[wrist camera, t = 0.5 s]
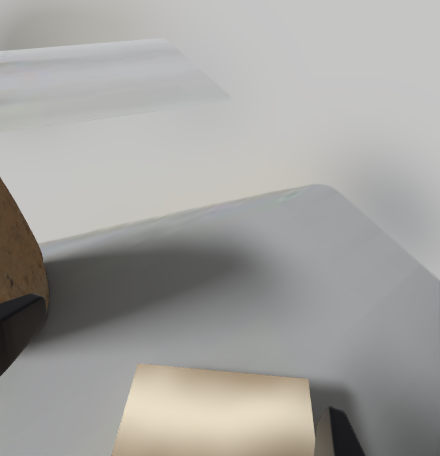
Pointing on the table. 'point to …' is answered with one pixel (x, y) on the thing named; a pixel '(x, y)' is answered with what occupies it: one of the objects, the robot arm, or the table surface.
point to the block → (18, 254)
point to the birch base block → (215, 414)
